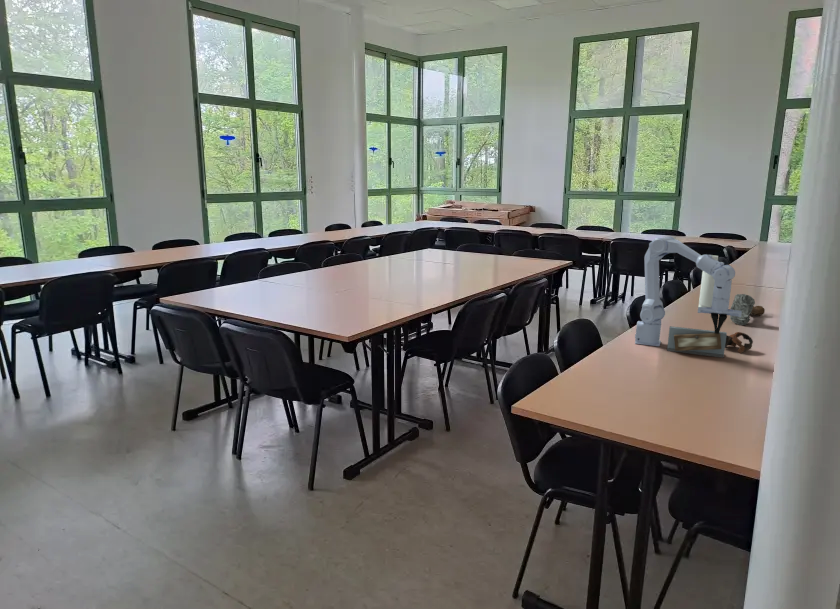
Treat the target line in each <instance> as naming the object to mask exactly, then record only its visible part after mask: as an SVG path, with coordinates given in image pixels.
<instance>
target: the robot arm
mask: <svg viewBox="0 0 840 609" xmlns="http://www.w3.org/2000/svg"><path fill="white" fill-rule="evenodd" d="M676 253H677V254H679V255H680V256H682V257H685V258H686V259H688V260H690V261H692V262H694V263H695V266H696V267H697V268H698V269H699V270H701V271H702V272H703V271H704V272H706V273H708V274H709V275H711V276H713V279H714V280H715V282H714V289H713V297H712V305H711V307H698V306H697V313H698V314H710V317H711V320H712V323H713V327H714V331H715V333H716V334H719V332H721V329H722V327H723V325H724V323H725V322H726V320H727V318H728V316H729V317H730V316H738V317H741V314H742V311H738V310H731V308H730V306H729V305H730V299H731V291H732V282H733V281H732V280H733V279H734V278H735V276H736V270H735V268H734V267H733V266H731V265H730V264H725V262H722V261H719V260H718V261H717V260H715V259H714V258H712V257H713V256H712V255H713V254H702V255H701V254H700V253H698V252H697V251H695V250H694V249H692V248H691V247H689V246H688V245H686V244H684V243H683V242H682V241H680V240H679V239H675V237H673V236H664V237H656V238H654V239H653V240H652V241H650V242H649V243H648V249H647V250H646V252H645V254H644V257H643V258H644V286H645V287H644V292H645V293H644V296H645V300H644V301H643V303H642V305H641V307H642V308H641V311H640V313H639V317H640V320H638V321H637V322H636V329H635V334H634V339H635V341H634V344H638V345H645V346H652V347H661V343H662V342H661V341H662V340H660V339H661V328H662V319H664V317H665V315H666V310H665V308H664V304H663V301H662V300H661V297H660V296H661V293H660V260H662V258H664V256H666V255H668V254H676ZM729 308H730V309H729Z"/></svg>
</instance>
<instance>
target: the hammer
mask: <svg viewBox="0 0 840 609" xmlns="http://www.w3.org/2000/svg"><path fill="white" fill-rule="evenodd" d="M755 304H756V302H755V299H754V298H753V297H752V296H751V295H748V294H746V293H741V294H740V293H739V294H738V293H737V294H735V295H734V299H733V301H732V304H731V306H730V309H731V310H738V311H742V314H741V317H738V316H730V315H729V319H730V321H731V323H734V324H736V325H739V326H746V325H747V324H749V322H750V321H751V319H750V315H754V316H756V317H757V316H758V317H760V316H762V315H764V313H765V310H766V309H765V308H764V306H762V305H756V306H754V305H755Z"/></svg>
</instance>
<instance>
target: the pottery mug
mask: <svg viewBox="0 0 840 609" xmlns="http://www.w3.org/2000/svg"><path fill="white" fill-rule="evenodd" d="M740 336H742V338H743V340H746V341H748V343H746V342H745V343H744V344H742V343H743V341H741V340H740V339H739V337H740ZM753 343H754V341H753V338H752V337H751V335H748V334H746V333H744V332H740V331H736V332H735V333H734V334H733V333H732V334H730V335H726V343H725V349H726V348H727V347H728V346H730V347H737V346H738V347H739V348H738V349H737V353H739V354H742V353H743V352H747V351H750V350H751V349H752V347H753Z"/></svg>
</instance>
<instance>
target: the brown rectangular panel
mask: <svg viewBox="0 0 840 609" xmlns="http://www.w3.org/2000/svg"><path fill="white" fill-rule="evenodd" d="M674 342H675V351H680V350H713V349H721V336H720V333H719V334H716V333H704V334H680V335H674Z"/></svg>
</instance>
